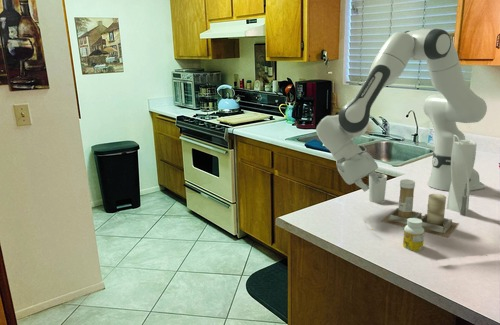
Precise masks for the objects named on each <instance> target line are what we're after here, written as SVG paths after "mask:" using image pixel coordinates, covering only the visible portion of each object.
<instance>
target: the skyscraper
mask: <svg viewBox="0 0 500 325" xmlns="http://www.w3.org/2000/svg"><path fill="white" fill-rule="evenodd" d="M455 136H456V135H454V136H453V147H452V155H451V179H452V181H451V185H450V190H449V191H448V196H447V200H446V201H447V202H446V207H445V210H450V211H452V212H456V213H459V215H460V216H464V217H465V216H466V212H467V211H469V208H470V207H469V206H470V205H469V204H470V191H469V179H470V176H471V174H472V171H473V169H474V167H475V163H476V155H477V142H476V141H474V140H473V139H469V140H468V139H465V140H460V139H459V138H458V136H456V137H457V138H458V141H459V142H455Z"/></svg>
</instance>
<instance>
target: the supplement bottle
mask: <svg viewBox="0 0 500 325" xmlns="http://www.w3.org/2000/svg"><path fill="white" fill-rule="evenodd" d="M403 228H404V229H403V239H402V240H403V241H402V246H403V248H405V249H406V250H409V251H413V252H420V251H422V250H423V248H424V241H425V232H424V229H423V227H422V220H420V219H418V218H408V219H407V225H406V226H405V227H403Z"/></svg>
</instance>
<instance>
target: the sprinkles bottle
mask: <svg viewBox="0 0 500 325" xmlns="http://www.w3.org/2000/svg"><path fill="white" fill-rule="evenodd" d="M399 187H400V189H399V199H398V208H399V211H398V217H403V218H407V219H408V218H412V211H413V206H414V190H415V188H416V182H415V181H414V180H413V179H408V178H405V179H401V180H400V182H399Z"/></svg>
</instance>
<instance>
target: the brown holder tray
mask: <svg viewBox="0 0 500 325" xmlns="http://www.w3.org/2000/svg"><path fill="white" fill-rule="evenodd" d="M398 211H399V207H397V208H395V209H394V210H393V211H391V212H390V213H389V214H387V215H386V216H385V217H384V218H383V219H382V220H380V222H382V223H386V224H391V225H394V226H398V227H403V228H405V226H406V225H407V218H403V217H398ZM412 218H418V219H420V220H422V227H423V229H424V233H428V234H432V235H437V236H441V237H445V238H449V237H450V236H451V234H452V233H453V232H454V231H455V230H456V228H457V227H458V226H459V224H460V222H459V223H458V222H454V221H453V219H452V218H446V217H444V223H443V227H442V226H438V225H433V224H429V223H426V220H427V213H425V214H424V215H423V214H422V212H419V211H415V210H412Z"/></svg>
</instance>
